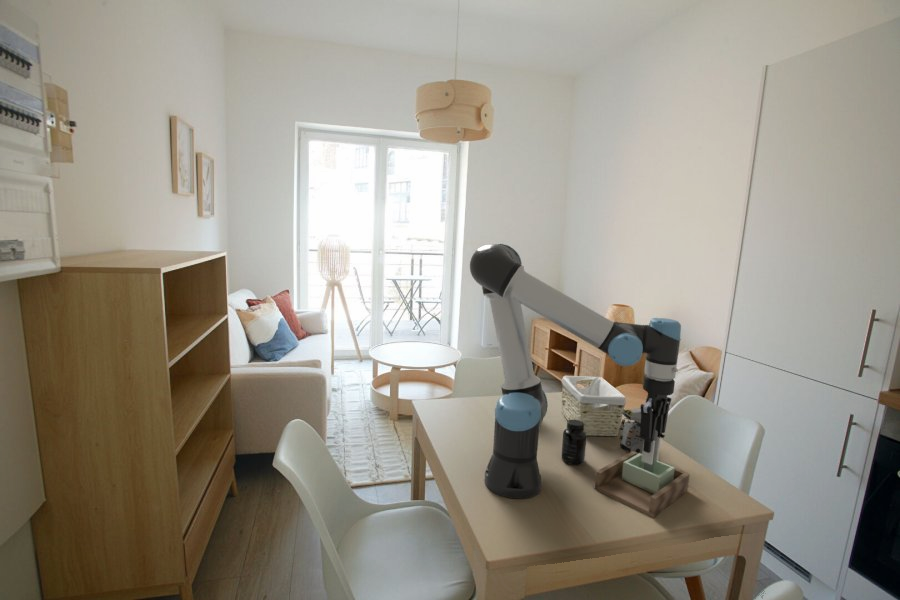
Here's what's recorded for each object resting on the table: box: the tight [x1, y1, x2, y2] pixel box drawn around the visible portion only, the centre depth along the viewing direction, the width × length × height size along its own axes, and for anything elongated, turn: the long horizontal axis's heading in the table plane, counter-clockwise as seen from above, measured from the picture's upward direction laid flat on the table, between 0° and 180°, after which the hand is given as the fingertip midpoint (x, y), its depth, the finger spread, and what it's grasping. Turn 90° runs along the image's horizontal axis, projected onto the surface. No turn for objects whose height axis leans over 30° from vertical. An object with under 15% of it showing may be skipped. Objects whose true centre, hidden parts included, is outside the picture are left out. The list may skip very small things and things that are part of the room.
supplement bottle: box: [561, 419, 587, 466], centre depth 138 cm, size 7×7×12 cm
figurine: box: [619, 407, 644, 454], centre depth 144 cm, size 9×12×15 cm
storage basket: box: [561, 375, 627, 437], centre depth 166 cm, size 24×16×15 cm
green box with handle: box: [622, 430, 676, 494], centre depth 125 cm, size 9×10×15 cm
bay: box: [594, 451, 691, 519], centre depth 123 cm, size 20×16×5 cm
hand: (649, 460), depth 125 cm, fingers closed on green box with handle, 2 cm apart
